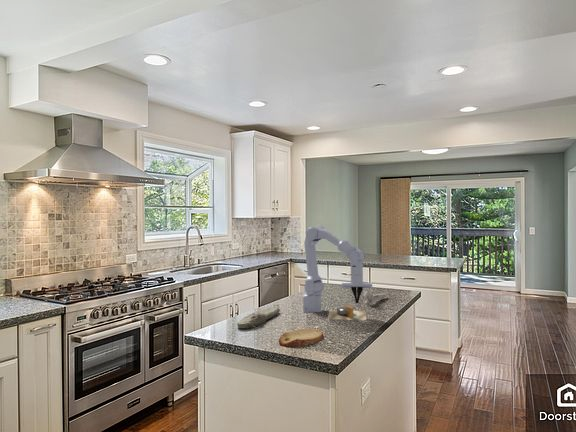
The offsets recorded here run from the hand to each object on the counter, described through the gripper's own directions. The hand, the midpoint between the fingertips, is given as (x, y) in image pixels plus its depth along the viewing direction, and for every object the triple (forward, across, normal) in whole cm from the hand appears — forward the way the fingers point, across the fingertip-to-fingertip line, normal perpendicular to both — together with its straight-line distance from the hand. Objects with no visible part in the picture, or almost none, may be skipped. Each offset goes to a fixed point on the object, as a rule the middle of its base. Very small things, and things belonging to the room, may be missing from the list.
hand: (356, 302), depth 186 cm
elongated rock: (+8, +46, +7) cm, 47 cm away
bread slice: (+8, +24, +34) cm, 42 cm away
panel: (+8, +5, -3) cm, 9 cm away
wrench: (+8, -12, -35) cm, 38 cm away
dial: (+6, +5, -1) cm, 8 cm away
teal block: (+6, +1, +5) cm, 8 cm away
